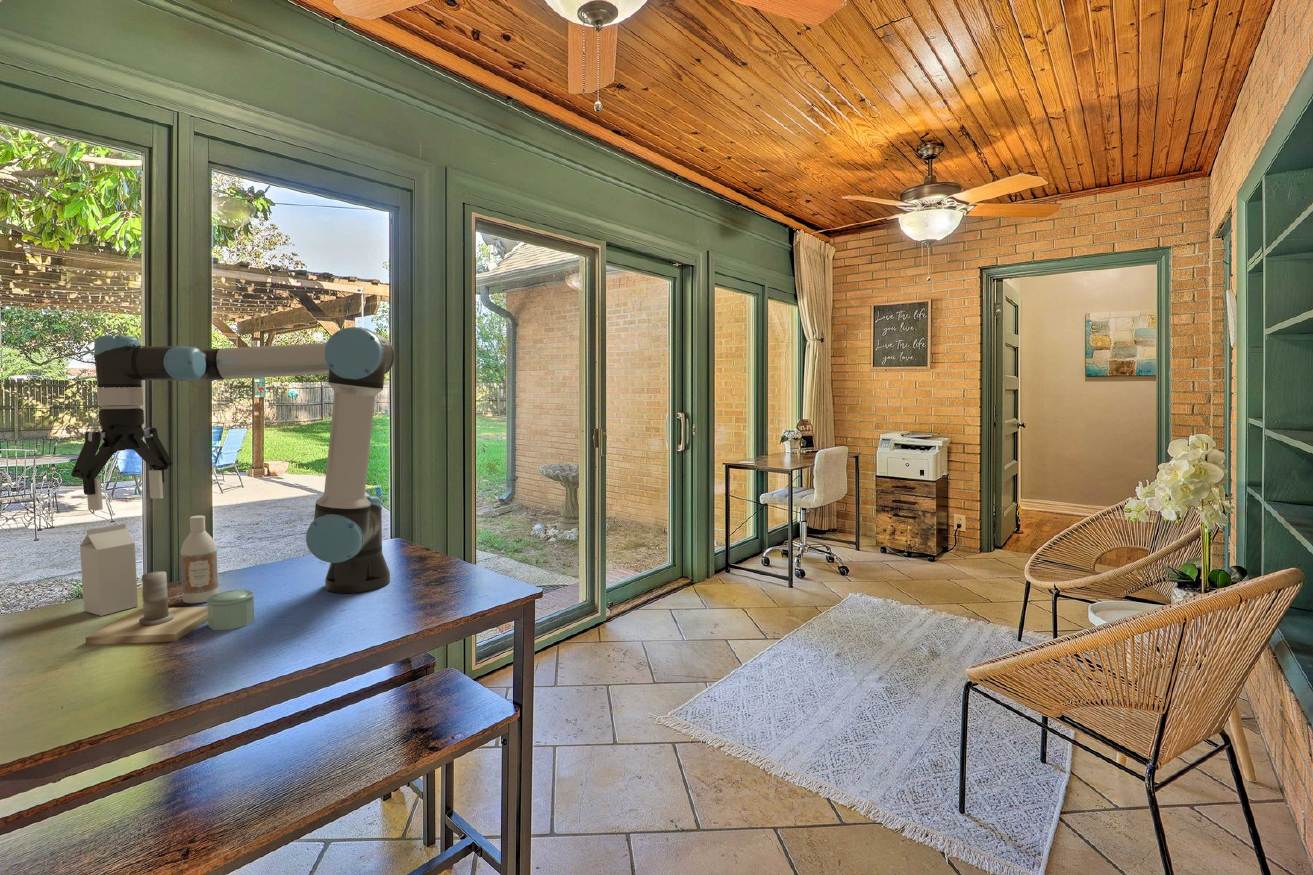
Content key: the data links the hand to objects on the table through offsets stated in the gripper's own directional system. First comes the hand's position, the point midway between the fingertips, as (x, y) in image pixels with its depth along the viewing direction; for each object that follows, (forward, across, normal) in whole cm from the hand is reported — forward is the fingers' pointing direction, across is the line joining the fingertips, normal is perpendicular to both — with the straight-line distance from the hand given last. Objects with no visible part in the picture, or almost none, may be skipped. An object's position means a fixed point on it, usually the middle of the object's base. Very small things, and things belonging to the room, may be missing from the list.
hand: (127, 503), depth 139 cm
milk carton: (+25, 0, -7) cm, 26 cm away
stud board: (+25, +7, +13) cm, 29 cm away
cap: (+25, +2, +26) cm, 36 cm away
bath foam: (+25, -10, +7) cm, 28 cm away
